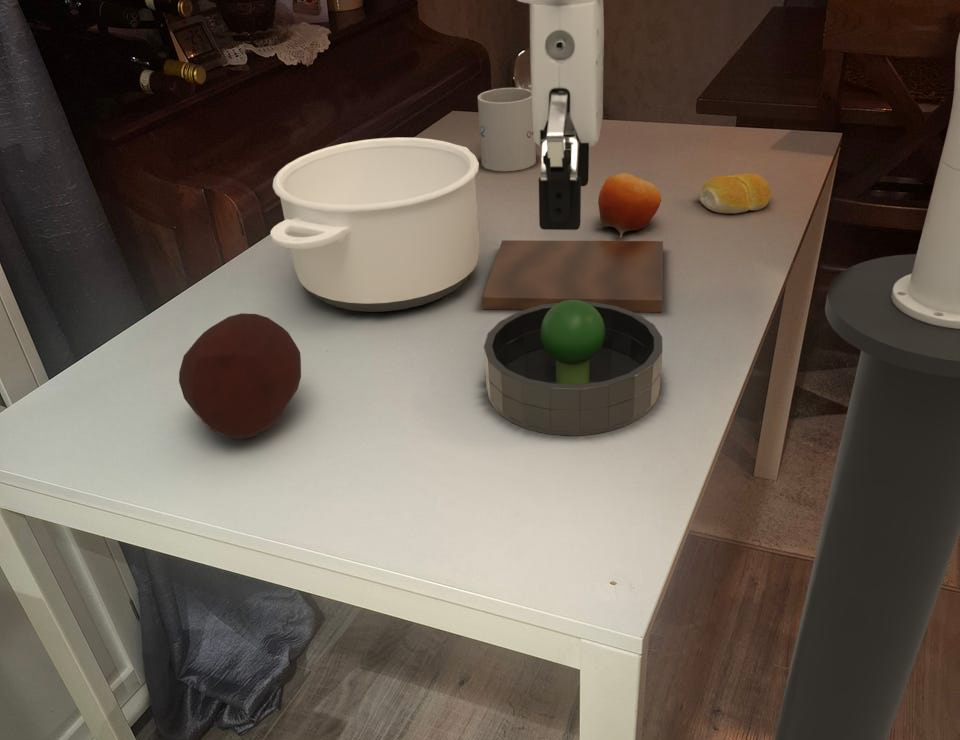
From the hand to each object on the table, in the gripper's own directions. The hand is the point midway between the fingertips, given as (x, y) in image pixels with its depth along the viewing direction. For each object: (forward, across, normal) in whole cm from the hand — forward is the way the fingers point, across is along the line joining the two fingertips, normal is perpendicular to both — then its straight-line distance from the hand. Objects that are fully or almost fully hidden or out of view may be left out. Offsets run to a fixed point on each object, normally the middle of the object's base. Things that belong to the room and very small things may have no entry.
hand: (565, 205), depth 74 cm
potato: (+19, -6, +29) cm, 36 cm away
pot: (+19, +25, +23) cm, 39 cm away
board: (+19, +26, +1) cm, 32 cm away
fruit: (+19, +42, -5) cm, 46 cm away
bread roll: (+19, +50, -19) cm, 56 cm away
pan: (+19, +2, -1) cm, 19 cm away
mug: (+19, +70, +14) cm, 73 cm away
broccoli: (+18, +2, -1) cm, 18 cm away
